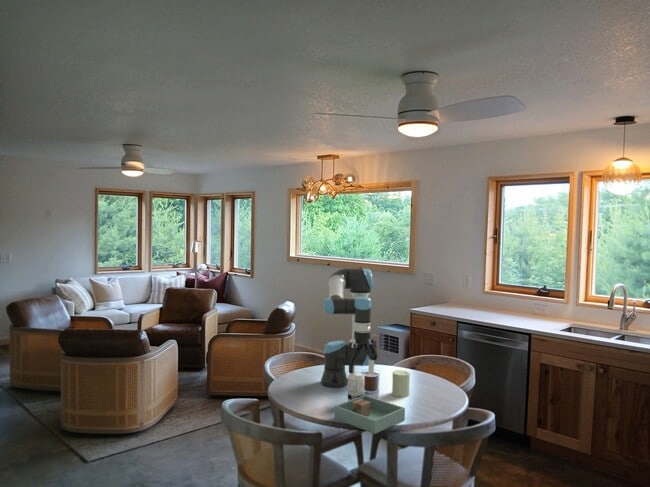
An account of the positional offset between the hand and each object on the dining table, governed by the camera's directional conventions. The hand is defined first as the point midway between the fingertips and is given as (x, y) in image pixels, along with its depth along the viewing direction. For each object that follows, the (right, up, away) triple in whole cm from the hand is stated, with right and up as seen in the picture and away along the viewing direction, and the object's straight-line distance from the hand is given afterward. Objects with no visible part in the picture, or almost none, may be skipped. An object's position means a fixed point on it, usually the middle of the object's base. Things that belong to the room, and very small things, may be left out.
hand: (361, 376), depth 222 cm
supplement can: (-2, -18, +16) cm, 24 cm away
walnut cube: (0, -18, 0) cm, 18 cm away
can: (+23, -18, +31) cm, 43 cm away
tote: (+3, -19, -3) cm, 19 cm away
